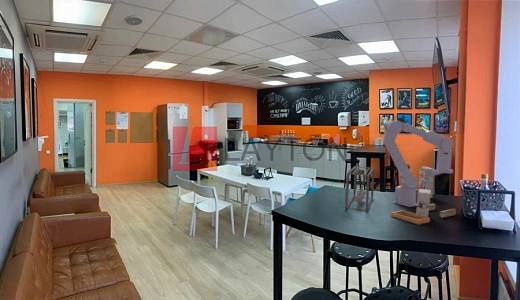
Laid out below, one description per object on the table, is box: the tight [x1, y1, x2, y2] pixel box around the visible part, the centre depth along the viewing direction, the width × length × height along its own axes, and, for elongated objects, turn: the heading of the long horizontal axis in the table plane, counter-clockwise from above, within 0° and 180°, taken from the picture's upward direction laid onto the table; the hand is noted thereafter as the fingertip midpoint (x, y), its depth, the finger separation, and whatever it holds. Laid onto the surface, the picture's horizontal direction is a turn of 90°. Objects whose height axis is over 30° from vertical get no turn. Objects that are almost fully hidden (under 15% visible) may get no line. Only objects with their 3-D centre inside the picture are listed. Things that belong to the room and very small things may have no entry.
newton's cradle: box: [344, 165, 375, 212], centre depth 160 cm, size 30×10×18 cm, turn 156°
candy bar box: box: [418, 166, 435, 199], centre depth 180 cm, size 11×5×16 cm, turn 168°
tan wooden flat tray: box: [390, 209, 431, 226], centre depth 136 cm, size 13×8×2 cm, turn 30°
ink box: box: [415, 188, 431, 217], centre depth 139 cm, size 9×5×12 cm, turn 150°
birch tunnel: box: [429, 203, 457, 218], centre depth 146 cm, size 11×11×2 cm
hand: (441, 188), depth 156 cm, fingers closed
